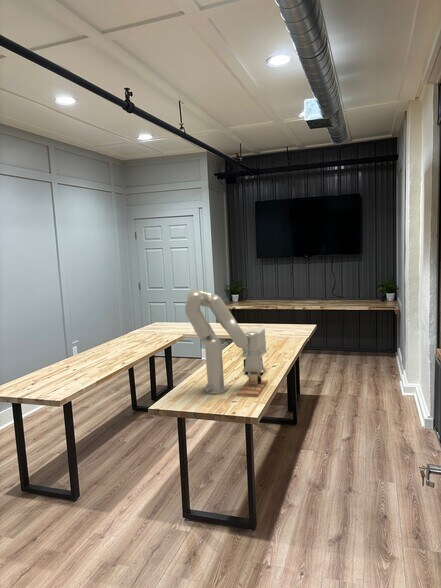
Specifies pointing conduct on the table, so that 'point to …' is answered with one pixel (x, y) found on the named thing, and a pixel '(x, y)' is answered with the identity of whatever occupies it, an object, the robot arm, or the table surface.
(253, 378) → the block
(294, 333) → the table surface
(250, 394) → the board
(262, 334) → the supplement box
